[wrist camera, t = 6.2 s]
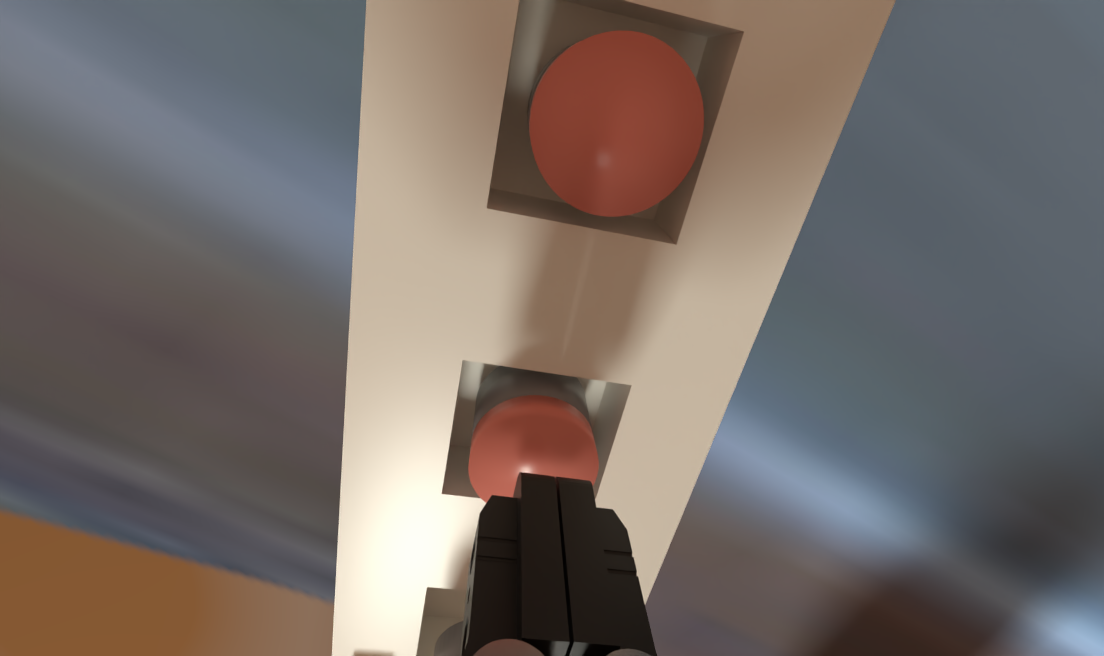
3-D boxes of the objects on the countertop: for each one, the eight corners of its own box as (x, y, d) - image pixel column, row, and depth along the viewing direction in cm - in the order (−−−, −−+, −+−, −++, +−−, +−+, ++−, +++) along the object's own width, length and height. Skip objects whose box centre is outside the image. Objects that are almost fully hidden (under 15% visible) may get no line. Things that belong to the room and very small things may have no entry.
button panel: (874, -223, 11) (1085, -392, 7) (586, 607, 22) (603, 732, 18) (441, -372, 10) (388, -687, 6) (361, 588, 21) (323, 717, 17)
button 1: (683, 57, 11) (728, 54, 9) (643, 199, 12) (673, 230, 10) (541, 22, 11) (550, 9, 8) (515, 173, 12) (515, 199, 10)
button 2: (597, 366, 14) (613, 425, 12) (572, 455, 15) (582, 523, 13) (484, 349, 14) (478, 406, 11) (468, 441, 15) (460, 510, 13)
